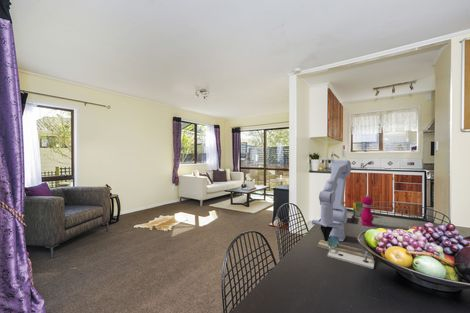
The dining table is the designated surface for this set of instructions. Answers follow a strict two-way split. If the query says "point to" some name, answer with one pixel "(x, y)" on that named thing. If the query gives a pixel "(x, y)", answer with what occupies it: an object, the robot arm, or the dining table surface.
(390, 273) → the dining table surface
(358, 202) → the crayon box
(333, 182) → the robot arm
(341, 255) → the bolt plate
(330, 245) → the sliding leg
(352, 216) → the calculator
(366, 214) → the pepper mill
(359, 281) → the dining table surface
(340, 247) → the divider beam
